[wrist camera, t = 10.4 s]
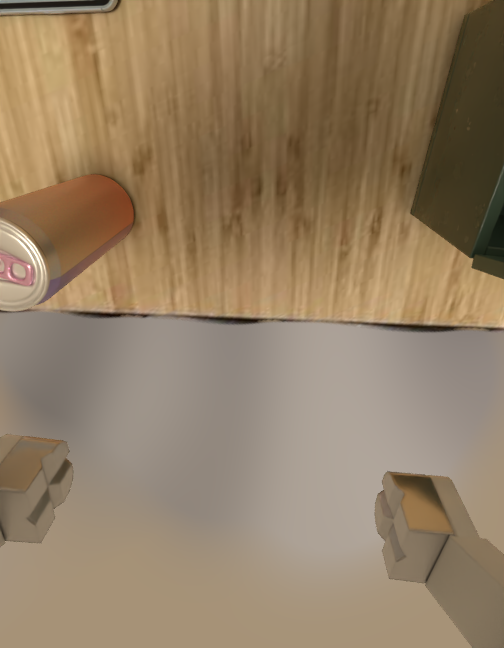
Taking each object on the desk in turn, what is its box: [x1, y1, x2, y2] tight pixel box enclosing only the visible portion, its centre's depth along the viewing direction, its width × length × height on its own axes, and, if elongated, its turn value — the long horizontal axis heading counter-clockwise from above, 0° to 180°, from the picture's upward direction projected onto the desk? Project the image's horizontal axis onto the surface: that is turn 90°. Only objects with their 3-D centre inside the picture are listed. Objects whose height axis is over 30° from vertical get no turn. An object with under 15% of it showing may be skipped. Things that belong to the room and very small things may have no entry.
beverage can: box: [0, 174, 134, 311], centre depth 28 cm, size 6×6×15 cm
